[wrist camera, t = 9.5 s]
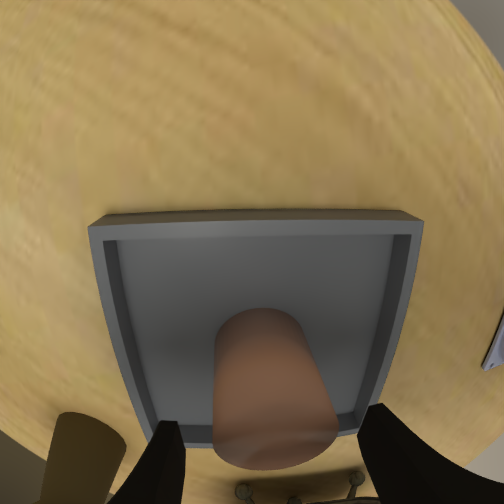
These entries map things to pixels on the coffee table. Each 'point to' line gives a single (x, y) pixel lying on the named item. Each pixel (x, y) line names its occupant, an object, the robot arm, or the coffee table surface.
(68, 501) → the brown pawn figure
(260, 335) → the brown clay cylinder
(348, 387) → the tray
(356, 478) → the tabletop clock
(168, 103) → the coffee table surface
